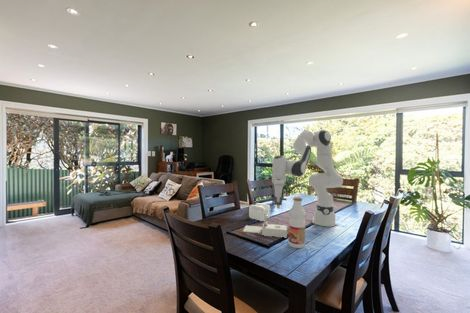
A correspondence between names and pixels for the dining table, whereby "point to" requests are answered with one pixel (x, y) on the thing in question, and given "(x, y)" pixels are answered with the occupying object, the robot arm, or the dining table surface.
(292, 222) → the fruit juice
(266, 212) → the clip
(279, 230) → the power strip
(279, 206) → the plug
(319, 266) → the dining table surface
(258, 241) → the dining table surface
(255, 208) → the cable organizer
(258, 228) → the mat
